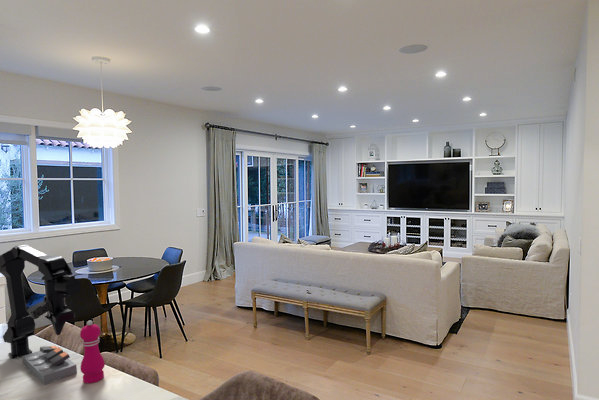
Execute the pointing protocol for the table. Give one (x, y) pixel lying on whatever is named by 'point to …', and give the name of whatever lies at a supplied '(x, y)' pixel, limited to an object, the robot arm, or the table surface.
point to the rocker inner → (47, 349)
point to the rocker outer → (59, 358)
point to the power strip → (47, 367)
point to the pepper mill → (91, 354)
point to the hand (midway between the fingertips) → (58, 334)
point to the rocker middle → (53, 353)
